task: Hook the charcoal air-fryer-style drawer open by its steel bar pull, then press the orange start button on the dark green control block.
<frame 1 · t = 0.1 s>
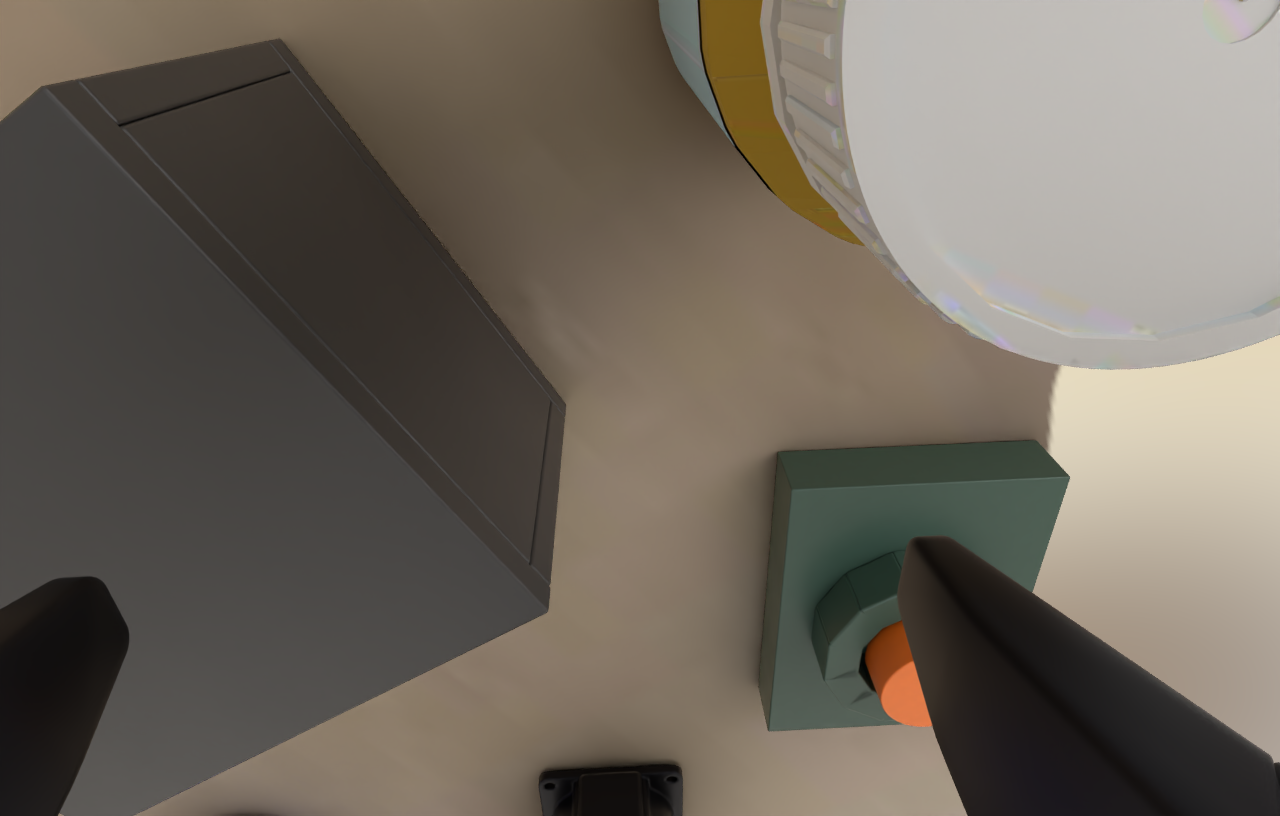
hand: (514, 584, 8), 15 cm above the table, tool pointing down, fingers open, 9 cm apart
fryer: (256, 367, 23), on the table
start button: (926, 669, 25), point 4 cm above the table, slide at 0.1 cm
control block: (883, 575, 29), on the table
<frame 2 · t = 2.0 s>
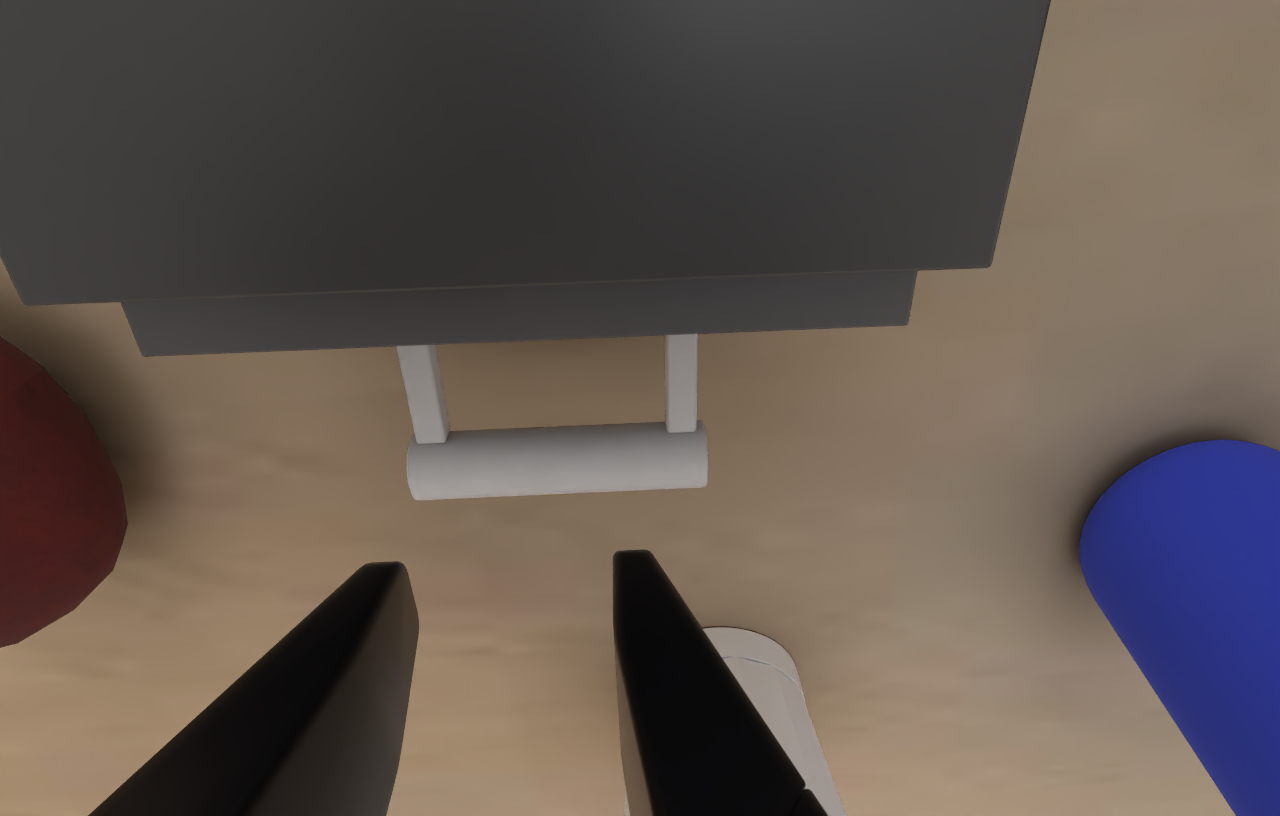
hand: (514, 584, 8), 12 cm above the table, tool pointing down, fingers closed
potato: (34, 424, 21), on the table
mug: (1212, 523, 25), on the table
cup: (712, 683, 28), on the table
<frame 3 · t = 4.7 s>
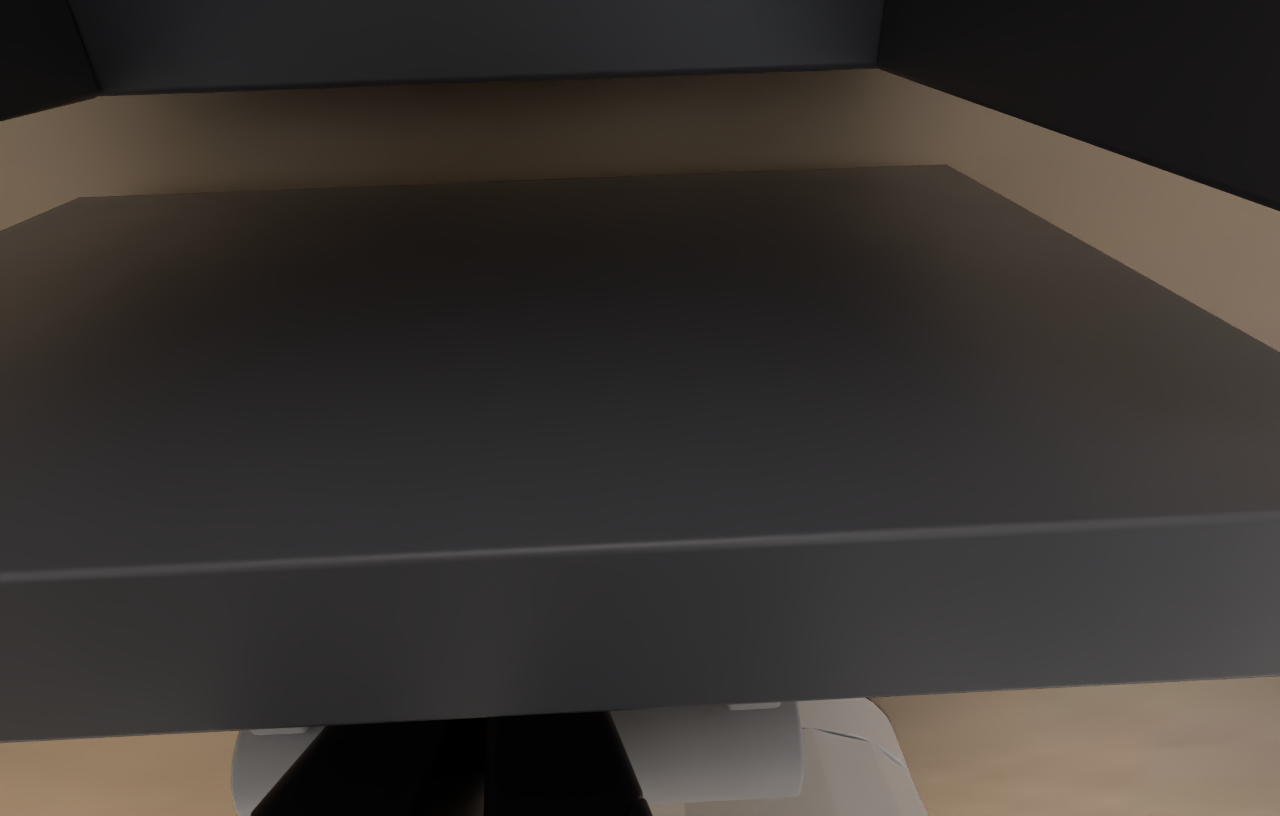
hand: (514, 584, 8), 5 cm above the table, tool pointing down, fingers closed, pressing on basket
cup: (762, 758, 18), on the table
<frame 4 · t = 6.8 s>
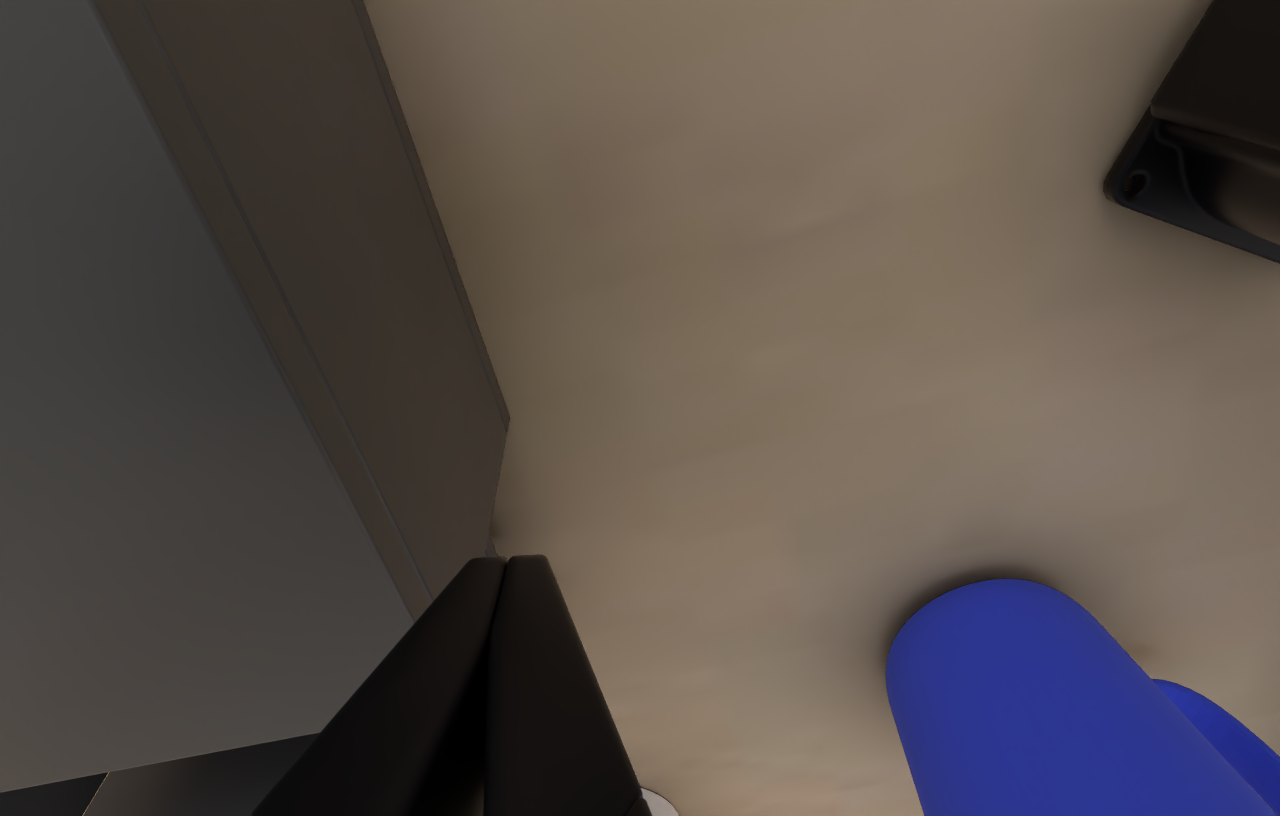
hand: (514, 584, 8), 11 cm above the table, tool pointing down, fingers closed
fryer: (142, 204, 17), on the table
basket: (258, 648, 17), point 5 cm above the table, slide at 5.3 cm
mug: (1023, 638, 26), on the table
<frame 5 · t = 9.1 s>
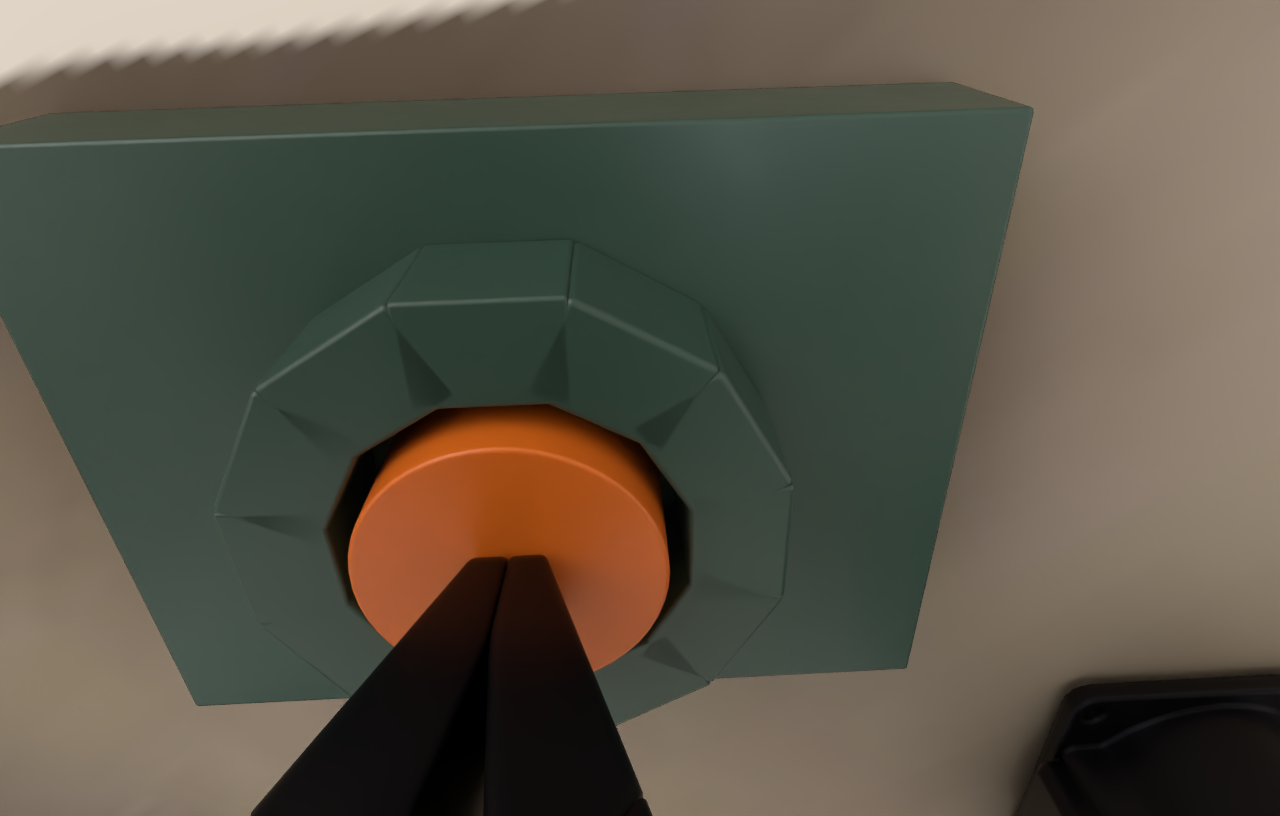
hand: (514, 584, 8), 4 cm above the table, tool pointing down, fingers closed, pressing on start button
start button: (518, 531, 9), point 4 cm above the table, slide at -0.9 cm, touching gripper
control block: (539, 392, 12), on the table
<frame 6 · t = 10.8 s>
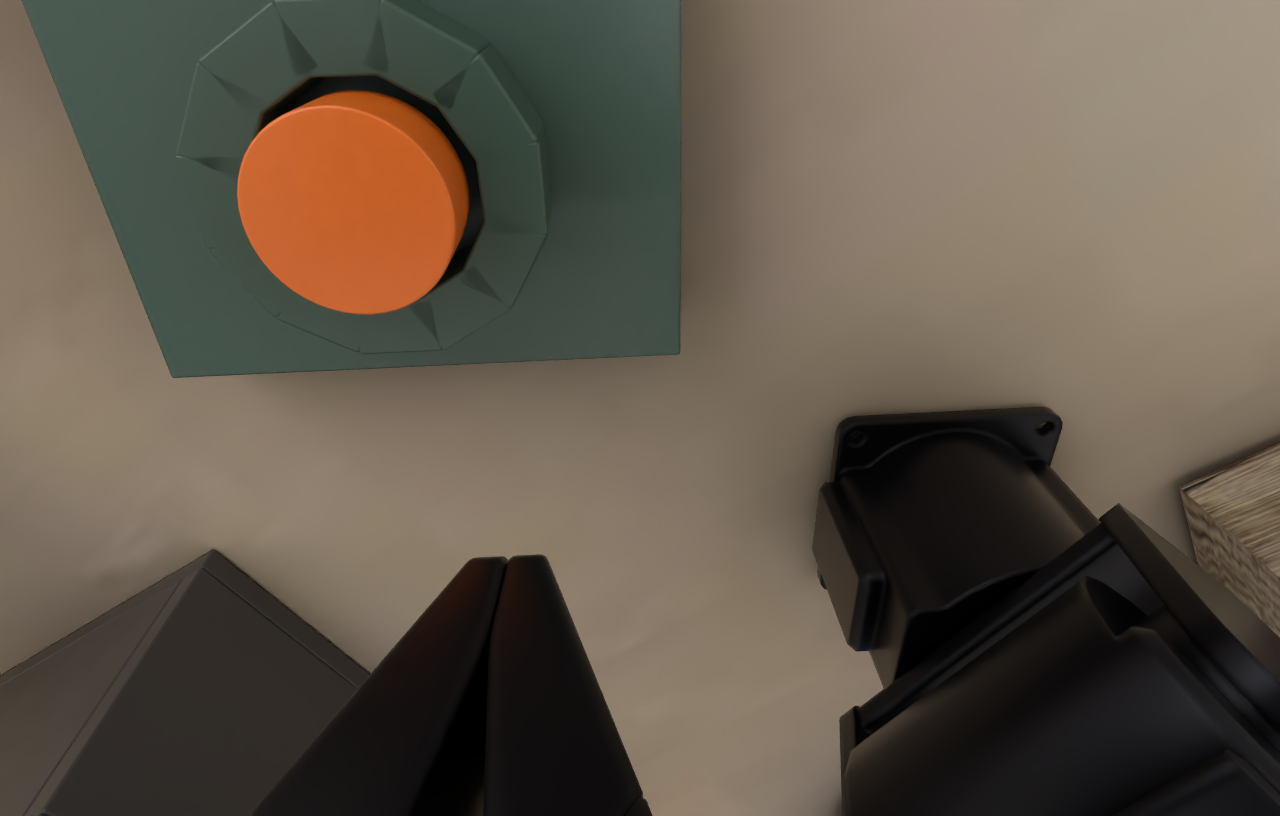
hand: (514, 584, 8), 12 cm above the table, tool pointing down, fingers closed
fryer: (246, 743, 28), on the table
start button: (361, 204, 13), point 4 cm above the table, slide at 0.1 cm
control block: (413, 150, 17), on the table
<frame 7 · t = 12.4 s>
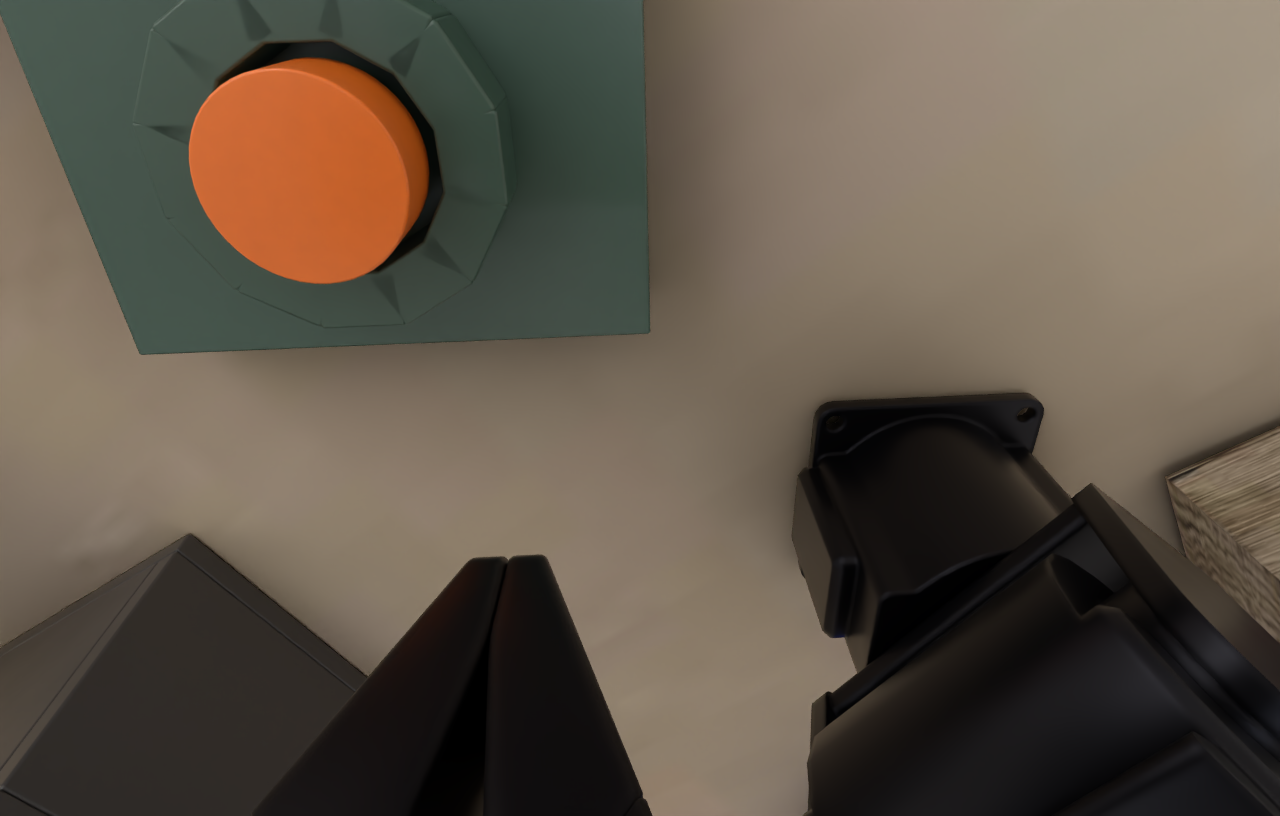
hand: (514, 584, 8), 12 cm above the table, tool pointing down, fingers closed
fryer: (226, 732, 28), on the table
start button: (317, 172, 13), point 4 cm above the table, slide at 0.1 cm
control block: (382, 127, 17), on the table
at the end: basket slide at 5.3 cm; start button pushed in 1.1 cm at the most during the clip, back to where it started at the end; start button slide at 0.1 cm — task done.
